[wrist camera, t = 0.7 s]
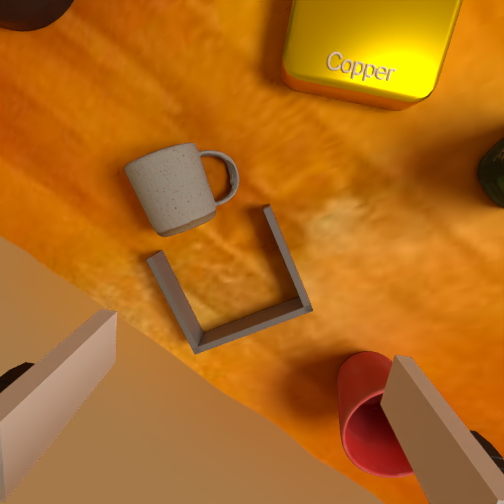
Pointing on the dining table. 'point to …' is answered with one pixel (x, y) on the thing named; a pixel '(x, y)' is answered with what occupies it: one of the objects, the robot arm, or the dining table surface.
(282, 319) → the box
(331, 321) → the dining table surface
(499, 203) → the coffee jar
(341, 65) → the element tile
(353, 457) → the flower pot
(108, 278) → the dining table surface
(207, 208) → the ceramic mug
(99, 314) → the robot arm
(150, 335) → the dining table surface
